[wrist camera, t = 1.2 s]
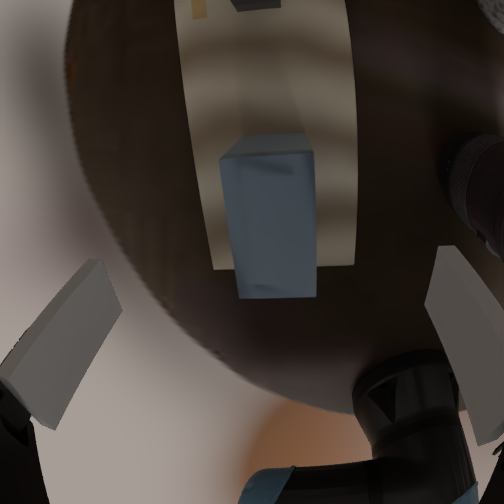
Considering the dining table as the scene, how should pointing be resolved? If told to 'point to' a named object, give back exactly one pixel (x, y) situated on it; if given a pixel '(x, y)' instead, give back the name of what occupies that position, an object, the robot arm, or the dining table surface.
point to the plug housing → (271, 215)
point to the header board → (272, 103)
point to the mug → (493, 13)
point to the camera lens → (476, 185)
